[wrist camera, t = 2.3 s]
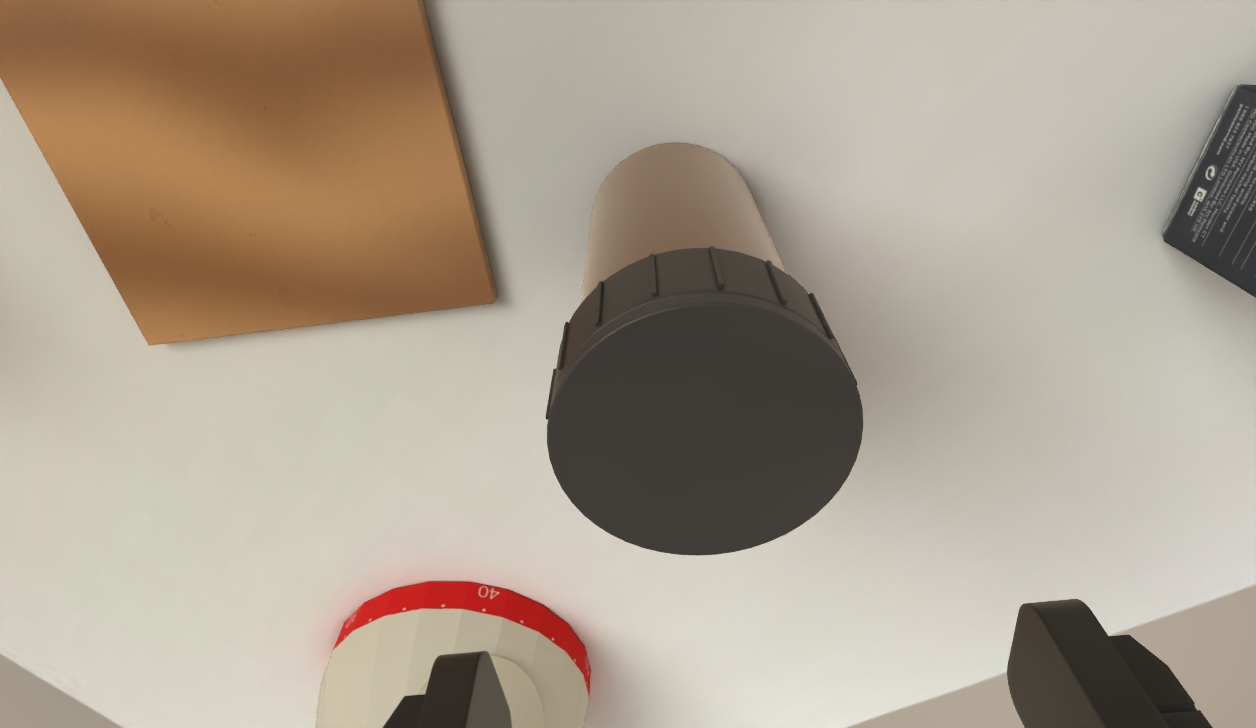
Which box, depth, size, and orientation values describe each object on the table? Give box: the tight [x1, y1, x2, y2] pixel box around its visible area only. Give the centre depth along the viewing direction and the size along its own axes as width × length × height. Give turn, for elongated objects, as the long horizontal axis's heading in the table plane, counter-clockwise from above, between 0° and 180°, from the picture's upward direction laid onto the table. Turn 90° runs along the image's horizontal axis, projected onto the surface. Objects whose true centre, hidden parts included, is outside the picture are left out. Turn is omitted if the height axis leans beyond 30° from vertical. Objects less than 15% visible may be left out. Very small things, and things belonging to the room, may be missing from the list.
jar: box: [580, 143, 787, 305], centre depth 21 cm, size 6×6×12 cm
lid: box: [546, 246, 863, 555], centre depth 17 cm, size 7×7×3 cm
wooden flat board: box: [0, 0, 498, 345], centre depth 23 cm, size 20×14×1 cm
